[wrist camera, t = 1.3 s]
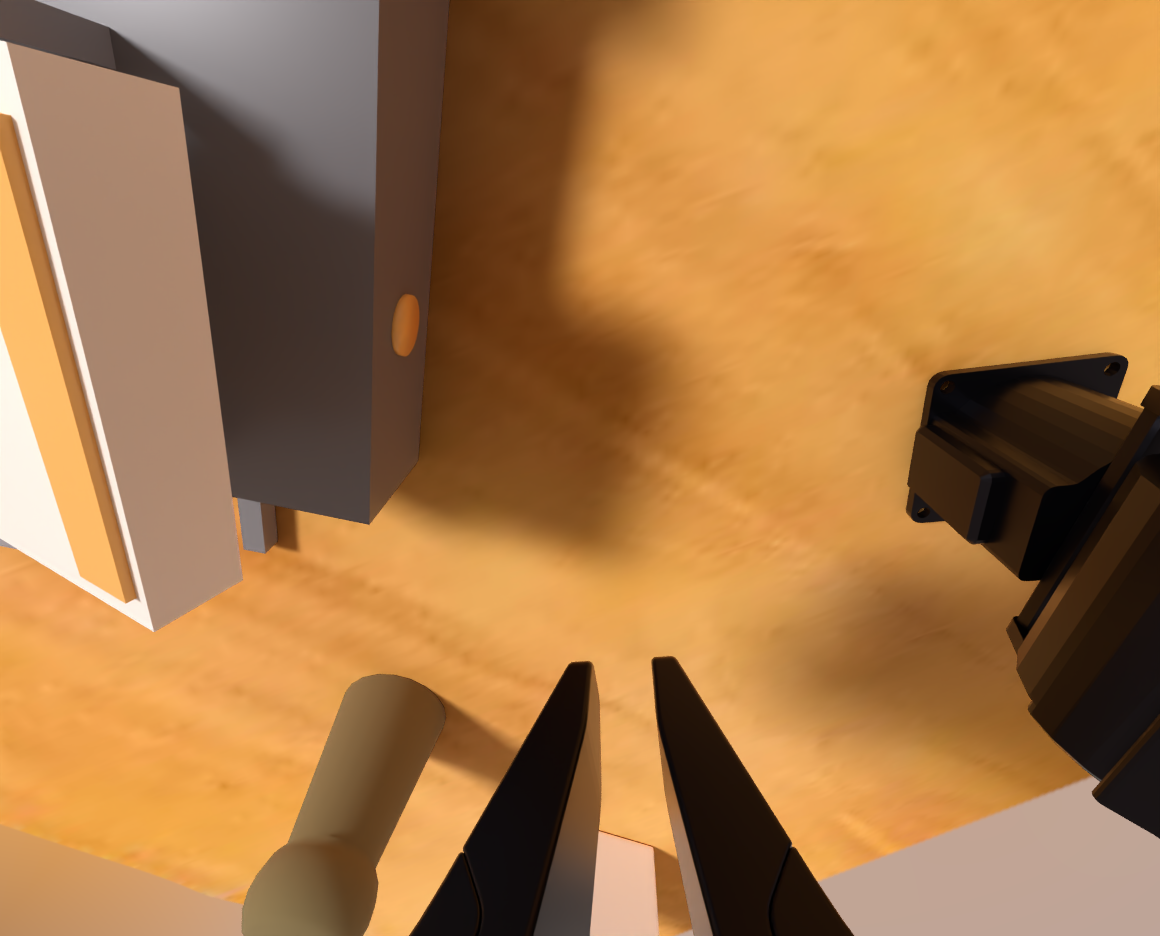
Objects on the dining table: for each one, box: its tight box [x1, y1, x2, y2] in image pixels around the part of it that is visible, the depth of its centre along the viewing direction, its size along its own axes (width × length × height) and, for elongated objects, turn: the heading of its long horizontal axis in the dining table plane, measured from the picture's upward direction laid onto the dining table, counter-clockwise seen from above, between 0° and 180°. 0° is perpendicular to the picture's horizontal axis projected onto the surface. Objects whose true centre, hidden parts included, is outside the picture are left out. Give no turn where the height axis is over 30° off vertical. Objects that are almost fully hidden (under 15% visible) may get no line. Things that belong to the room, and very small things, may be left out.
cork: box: [242, 674, 446, 936], centre depth 25 cm, size 6×6×11 cm
